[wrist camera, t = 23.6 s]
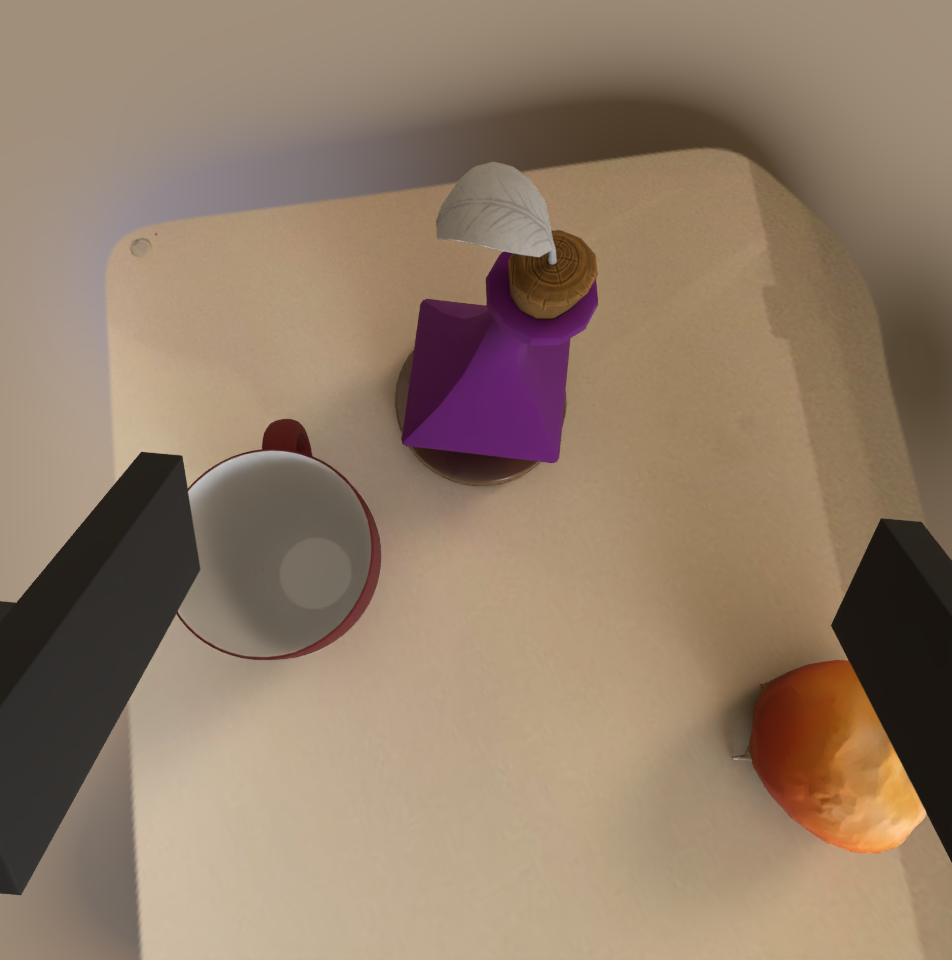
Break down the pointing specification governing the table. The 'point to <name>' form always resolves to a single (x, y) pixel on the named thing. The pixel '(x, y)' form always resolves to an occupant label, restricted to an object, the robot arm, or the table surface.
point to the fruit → (832, 759)
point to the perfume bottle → (501, 327)
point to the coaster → (459, 463)
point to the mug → (279, 551)
